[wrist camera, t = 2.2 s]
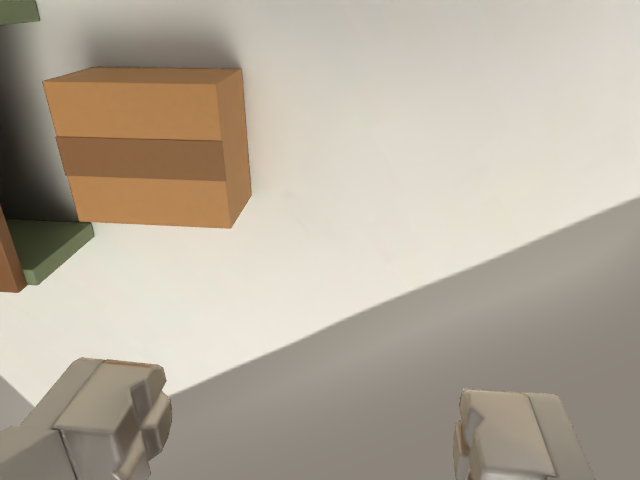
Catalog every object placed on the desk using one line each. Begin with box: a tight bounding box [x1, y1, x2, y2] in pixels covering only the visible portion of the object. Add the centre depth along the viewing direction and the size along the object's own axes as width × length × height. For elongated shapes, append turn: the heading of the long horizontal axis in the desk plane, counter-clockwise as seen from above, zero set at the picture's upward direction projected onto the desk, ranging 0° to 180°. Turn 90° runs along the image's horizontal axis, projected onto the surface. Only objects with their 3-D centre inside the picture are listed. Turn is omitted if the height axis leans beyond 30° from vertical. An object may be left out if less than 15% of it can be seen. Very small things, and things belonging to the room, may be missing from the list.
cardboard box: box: [43, 67, 251, 228], centre depth 23 cm, size 8×6×4 cm
